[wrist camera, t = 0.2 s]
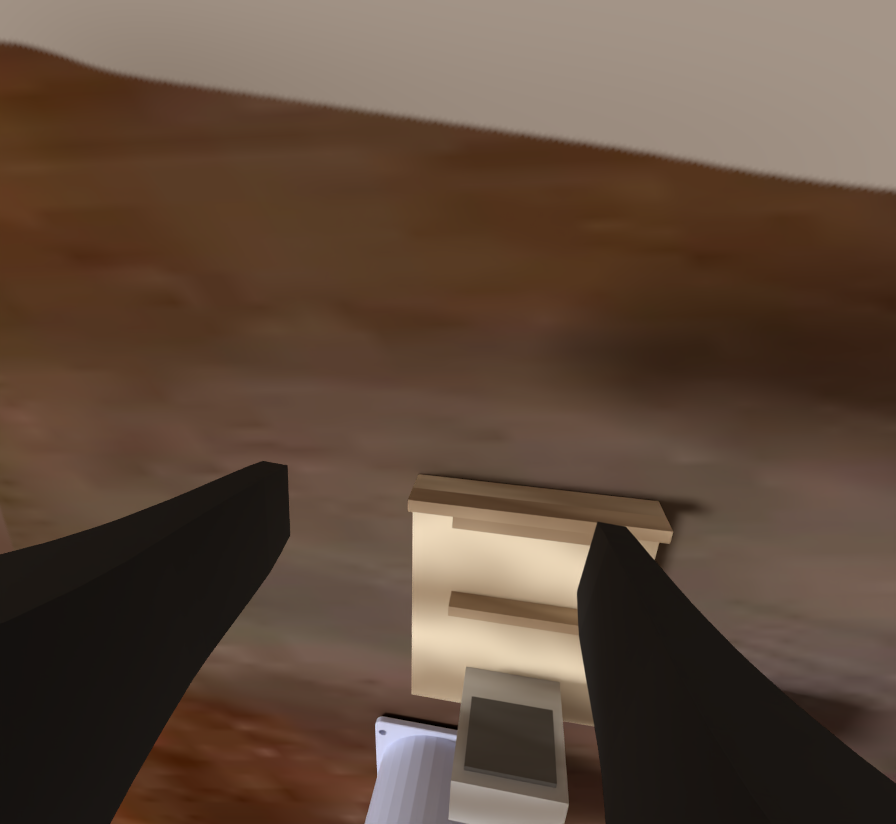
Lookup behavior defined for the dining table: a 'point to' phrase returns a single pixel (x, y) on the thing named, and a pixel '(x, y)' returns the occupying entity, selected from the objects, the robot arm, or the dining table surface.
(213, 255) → the dining table surface
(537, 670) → the cream tray
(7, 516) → the dining table surface
